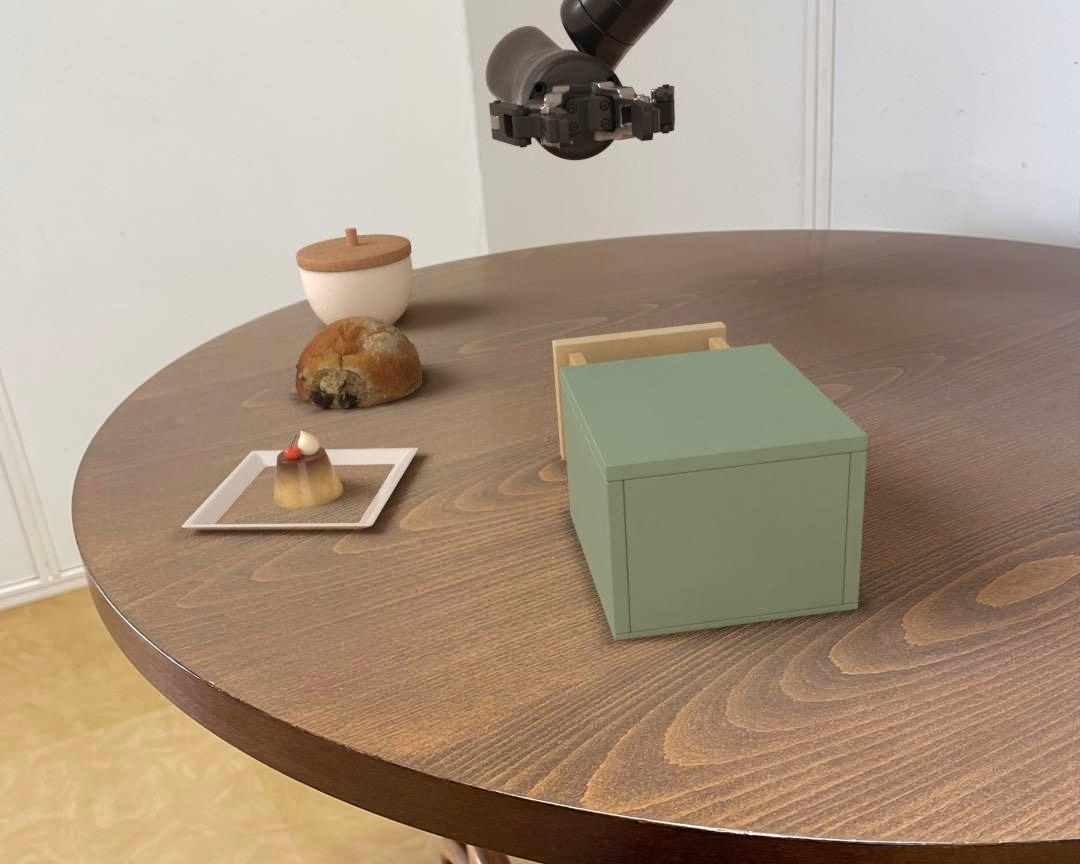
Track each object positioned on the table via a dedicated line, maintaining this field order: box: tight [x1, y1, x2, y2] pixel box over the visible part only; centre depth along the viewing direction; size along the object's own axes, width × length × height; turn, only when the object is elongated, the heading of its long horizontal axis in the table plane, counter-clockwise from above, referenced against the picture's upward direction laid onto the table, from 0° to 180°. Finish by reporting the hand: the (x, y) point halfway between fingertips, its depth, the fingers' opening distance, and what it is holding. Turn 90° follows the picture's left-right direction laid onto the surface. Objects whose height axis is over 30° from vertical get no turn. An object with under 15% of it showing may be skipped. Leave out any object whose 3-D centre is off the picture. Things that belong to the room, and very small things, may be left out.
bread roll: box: [295, 316, 423, 410], centre depth 90 cm, size 10×10×8 cm
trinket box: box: [295, 227, 414, 326], centre depth 107 cm, size 11×11×9 cm
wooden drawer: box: [551, 321, 732, 462], centre depth 69 cm, size 18×11×8 cm, turn 7°
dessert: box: [181, 430, 419, 531], centre depth 72 cm, size 12×12×5 cm
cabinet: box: [560, 342, 869, 641], centre depth 59 cm, size 15×12×10 cm
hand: (606, 127), depth 73 cm, fingers open, 5 cm apart
